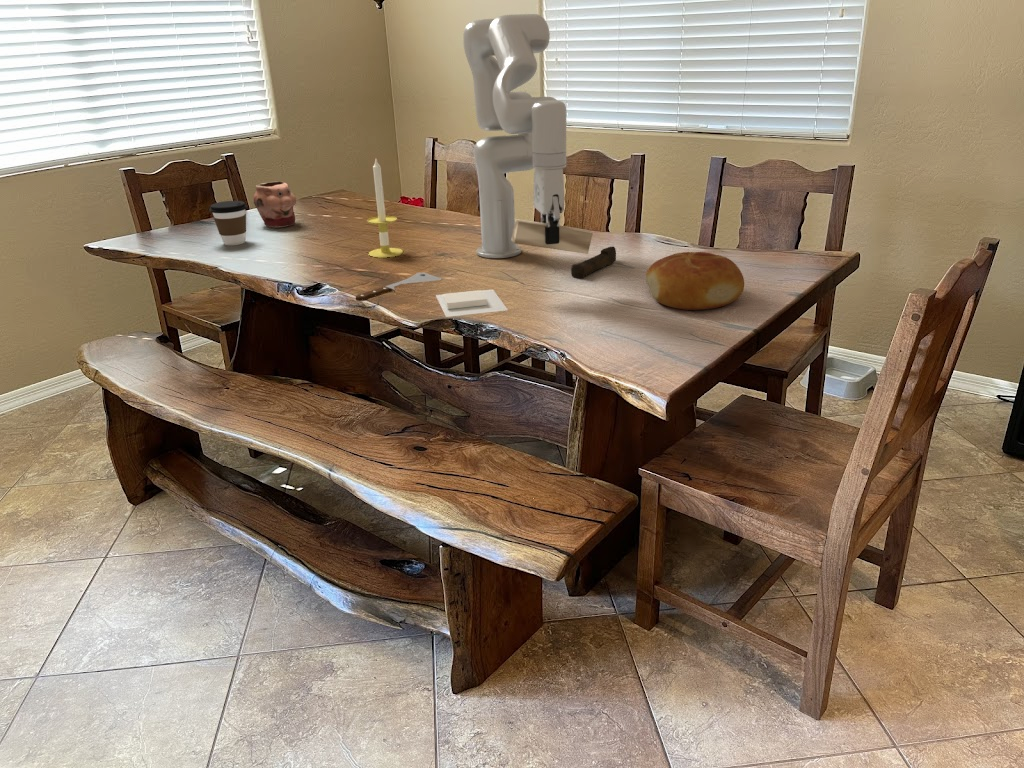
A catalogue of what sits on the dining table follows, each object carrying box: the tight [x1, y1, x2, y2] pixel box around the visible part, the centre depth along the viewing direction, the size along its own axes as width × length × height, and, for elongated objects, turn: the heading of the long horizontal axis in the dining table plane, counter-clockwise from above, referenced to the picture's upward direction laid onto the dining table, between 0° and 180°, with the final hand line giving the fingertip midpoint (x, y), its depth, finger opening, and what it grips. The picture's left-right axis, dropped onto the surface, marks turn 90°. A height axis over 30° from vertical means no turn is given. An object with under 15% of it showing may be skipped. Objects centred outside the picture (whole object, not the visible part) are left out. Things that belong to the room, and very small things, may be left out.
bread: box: [645, 251, 745, 311], centre depth 179 cm, size 23×23×10 cm
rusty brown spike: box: [570, 246, 617, 280], centre depth 202 cm, size 19×4×5 cm, turn 140°
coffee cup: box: [209, 200, 248, 246], centre depth 239 cm, size 11×11×12 cm
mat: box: [435, 288, 509, 318], centre depth 181 cm, size 16×14×1 cm
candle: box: [366, 158, 404, 259], centre depth 219 cm, size 10×10×27 cm
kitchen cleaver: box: [355, 271, 442, 301], centre depth 194 cm, size 24×1×10 cm
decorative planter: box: [253, 181, 297, 228], centre depth 260 cm, size 20×12×14 cm, turn 51°
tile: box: [441, 289, 487, 310], centre depth 180 cm, size 7×2×9 cm
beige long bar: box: [511, 218, 594, 255], centre depth 180 cm, size 3×18×5 cm, turn 103°
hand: (550, 240), depth 180 cm, fingers closed on beige long bar, 3 cm apart
